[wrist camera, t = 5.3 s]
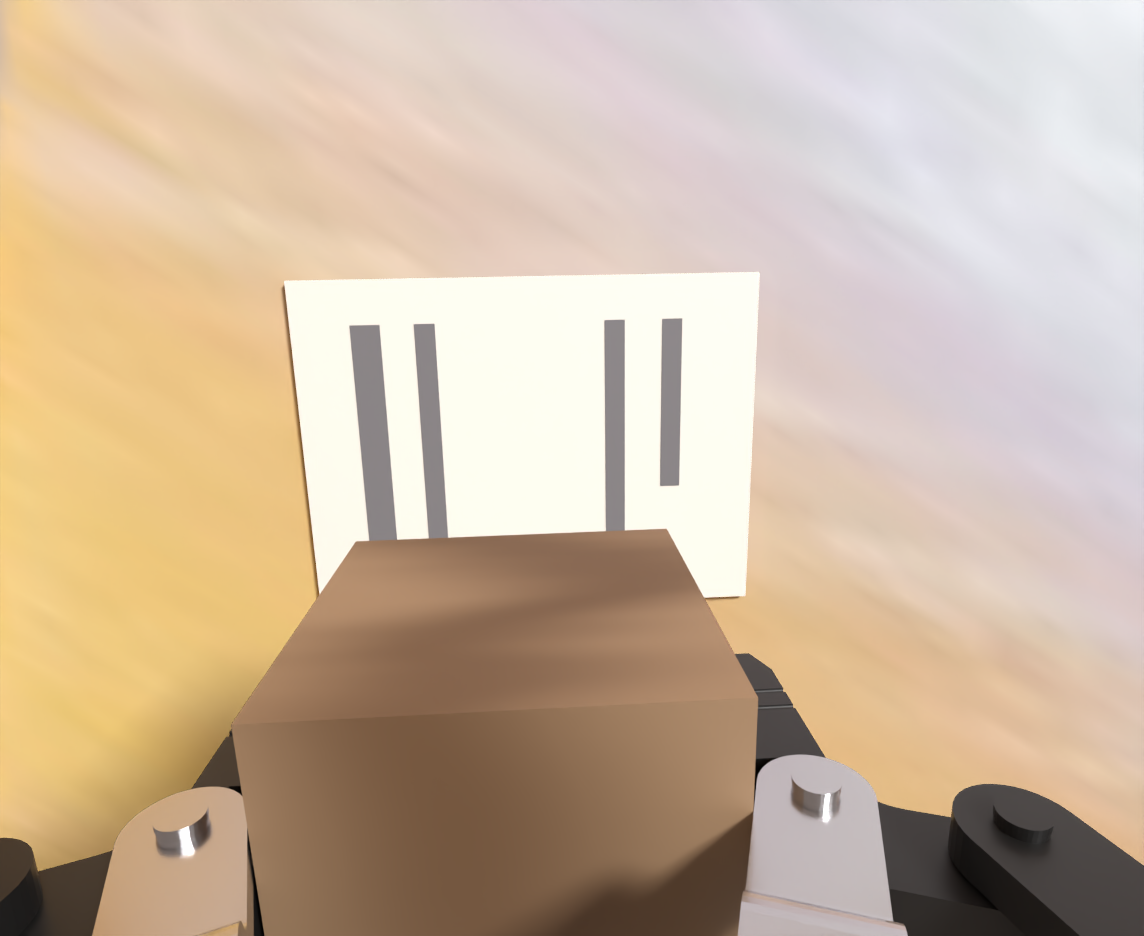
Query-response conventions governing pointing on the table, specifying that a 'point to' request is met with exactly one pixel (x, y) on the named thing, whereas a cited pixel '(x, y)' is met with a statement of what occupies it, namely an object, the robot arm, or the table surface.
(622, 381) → the letter
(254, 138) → the table surface
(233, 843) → the robot arm
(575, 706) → the walnut block
